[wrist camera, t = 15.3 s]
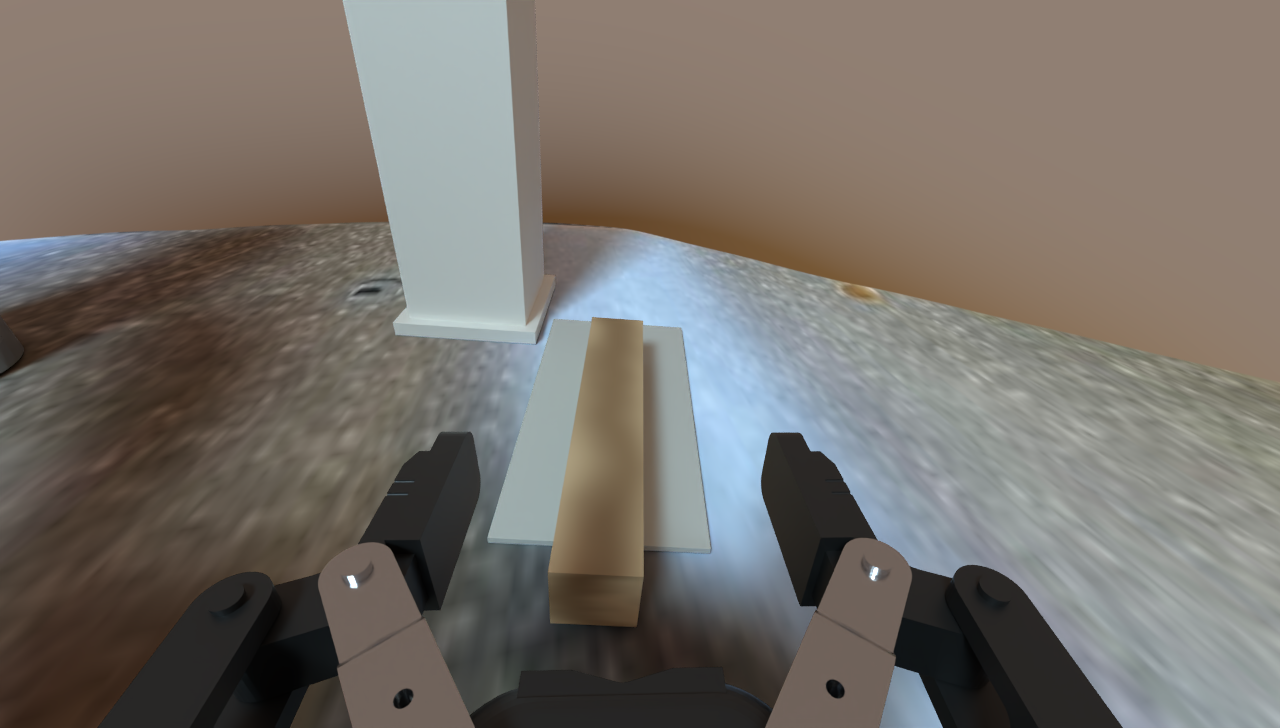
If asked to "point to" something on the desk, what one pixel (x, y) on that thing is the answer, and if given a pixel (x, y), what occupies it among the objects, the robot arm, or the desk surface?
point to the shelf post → (458, 161)
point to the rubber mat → (666, 446)
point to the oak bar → (603, 487)
